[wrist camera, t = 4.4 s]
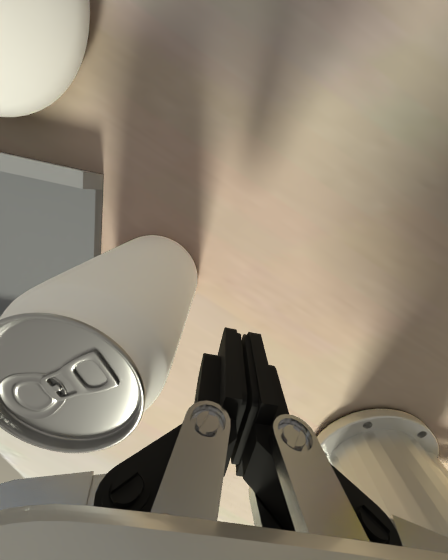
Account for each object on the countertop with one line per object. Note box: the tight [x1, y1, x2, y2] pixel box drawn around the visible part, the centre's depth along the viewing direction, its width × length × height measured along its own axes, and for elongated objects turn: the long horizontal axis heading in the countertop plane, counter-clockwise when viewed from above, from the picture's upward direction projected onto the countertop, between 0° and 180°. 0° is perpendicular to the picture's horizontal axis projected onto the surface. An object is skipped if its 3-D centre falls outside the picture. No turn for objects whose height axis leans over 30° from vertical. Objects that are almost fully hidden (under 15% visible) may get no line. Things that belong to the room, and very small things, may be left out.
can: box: [0, 235, 198, 453], centre depth 13 cm, size 6×6×12 cm
